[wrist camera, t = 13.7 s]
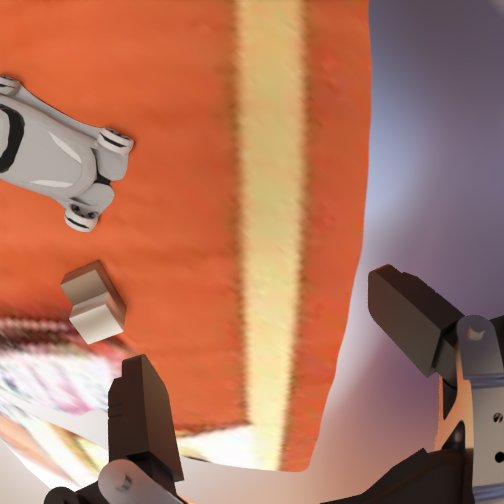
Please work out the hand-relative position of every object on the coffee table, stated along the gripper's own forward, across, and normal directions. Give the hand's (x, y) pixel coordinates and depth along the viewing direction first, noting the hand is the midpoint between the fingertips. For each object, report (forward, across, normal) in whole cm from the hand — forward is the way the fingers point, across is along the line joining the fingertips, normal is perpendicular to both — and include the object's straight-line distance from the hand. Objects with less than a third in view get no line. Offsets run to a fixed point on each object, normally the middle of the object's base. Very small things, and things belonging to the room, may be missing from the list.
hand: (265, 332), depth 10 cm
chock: (+26, +15, +10) cm, 31 cm away
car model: (+26, +16, -9) cm, 32 cm away
